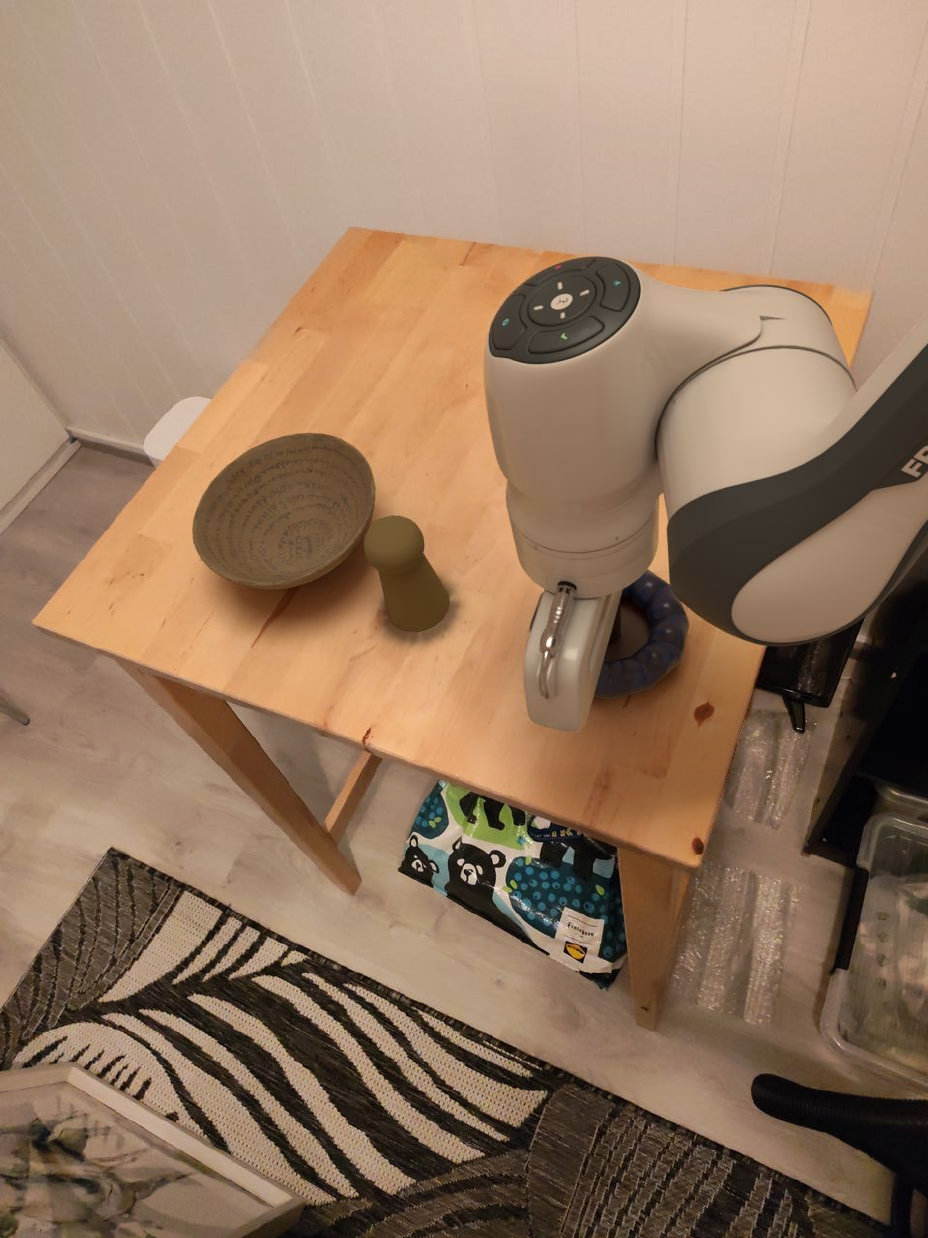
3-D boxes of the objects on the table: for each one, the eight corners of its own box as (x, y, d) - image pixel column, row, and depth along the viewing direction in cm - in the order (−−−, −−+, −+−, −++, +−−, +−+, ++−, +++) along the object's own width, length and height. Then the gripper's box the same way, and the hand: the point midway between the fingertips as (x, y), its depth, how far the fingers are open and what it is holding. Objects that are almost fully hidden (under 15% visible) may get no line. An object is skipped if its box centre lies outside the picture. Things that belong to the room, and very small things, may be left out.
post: (640, 592, 73) (640, 513, 64) (669, 666, 68) (674, 593, 59) (554, 615, 73) (542, 539, 64) (577, 690, 69) (568, 620, 59)
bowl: (191, 607, 81) (152, 560, 75) (273, 473, 90) (244, 420, 83) (352, 645, 75) (325, 597, 69) (423, 498, 84) (405, 443, 77)
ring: (657, 559, 73) (658, 539, 71) (708, 681, 66) (711, 662, 63) (518, 596, 74) (514, 576, 71) (554, 720, 66) (551, 703, 64)
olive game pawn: (458, 584, 77) (434, 509, 68) (436, 637, 74) (408, 566, 65) (400, 574, 79) (370, 499, 70) (377, 625, 76) (342, 554, 67)
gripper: (595, 681, 43) (606, 777, 55) (669, 412, 53) (665, 542, 64) (484, 659, 45) (517, 756, 57) (575, 404, 55) (587, 531, 66)
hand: (596, 640), depth 61 cm, fingers open, 6 cm apart
